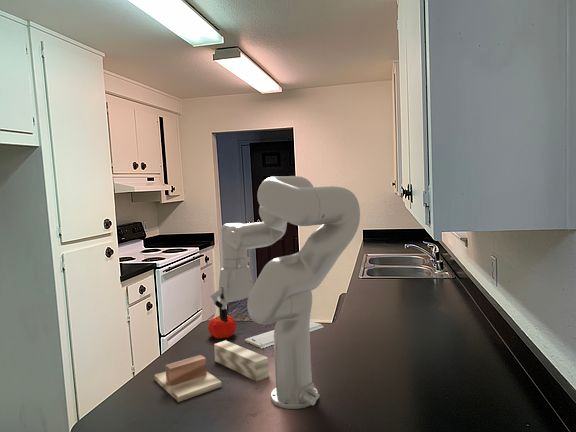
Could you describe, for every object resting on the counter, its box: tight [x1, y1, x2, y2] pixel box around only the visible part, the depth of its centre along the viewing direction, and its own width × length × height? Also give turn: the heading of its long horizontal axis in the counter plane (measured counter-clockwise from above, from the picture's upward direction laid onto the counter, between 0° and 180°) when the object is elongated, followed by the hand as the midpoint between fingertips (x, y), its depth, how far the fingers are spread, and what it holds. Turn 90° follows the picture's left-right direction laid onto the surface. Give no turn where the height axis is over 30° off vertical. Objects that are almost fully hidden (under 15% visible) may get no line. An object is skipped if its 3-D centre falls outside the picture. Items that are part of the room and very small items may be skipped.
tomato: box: [207, 314, 237, 340], centre depth 163 cm, size 11×11×8 cm
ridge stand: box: [153, 354, 223, 403], centre depth 124 cm, size 18×13×6 cm
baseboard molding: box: [244, 320, 325, 350], centre depth 162 cm, size 31×3×12 cm
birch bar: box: [213, 339, 270, 382], centre depth 133 cm, size 22×4×6 cm, turn 43°
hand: (237, 317), depth 132 cm, fingers open, 9 cm apart
